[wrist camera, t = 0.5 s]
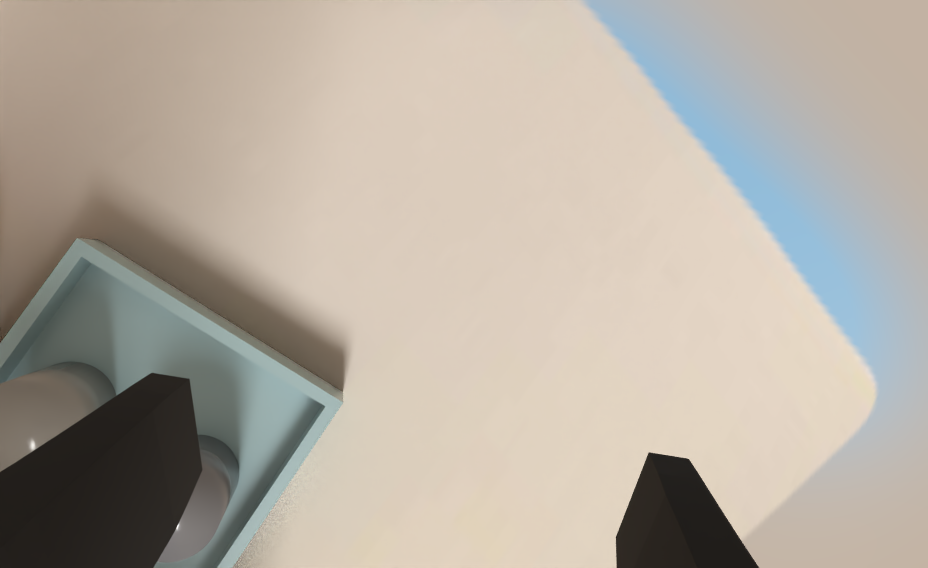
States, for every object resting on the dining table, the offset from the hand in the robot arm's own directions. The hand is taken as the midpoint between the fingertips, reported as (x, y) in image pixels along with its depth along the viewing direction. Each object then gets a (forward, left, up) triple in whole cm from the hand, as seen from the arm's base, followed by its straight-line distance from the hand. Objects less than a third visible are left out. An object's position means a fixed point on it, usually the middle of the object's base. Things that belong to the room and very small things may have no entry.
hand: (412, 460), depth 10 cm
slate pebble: (-11, +9, -23) cm, 27 cm away
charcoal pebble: (-11, +3, -23) cm, 25 cm away
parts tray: (-11, +6, -23) cm, 26 cm away
